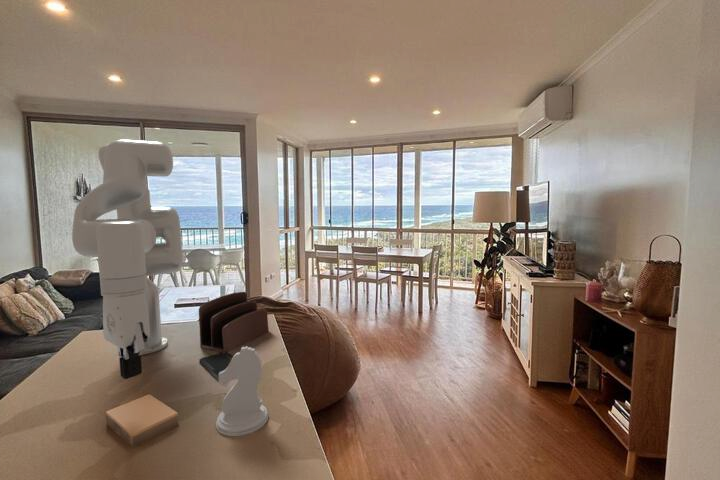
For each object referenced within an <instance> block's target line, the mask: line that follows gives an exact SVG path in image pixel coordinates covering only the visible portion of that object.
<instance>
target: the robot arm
mask: <svg viewBox="0 0 720 480" xmlns="http://www.w3.org/2000/svg"><path fill="white" fill-rule="evenodd" d="M173 158H174V157H173V153H172V151H171V149H170V147H169V146H168V145H167V144H166V143H164V142H160V141H151V140H148V141H147V140H133V139H119V140H118V139H117V140H114V141H111V142H110V143H108V144H105V145H103V146H101V147H100V148H99V150H98V159H99V160H98V161H99V162H100V165H101V168H102V170H103V175H102V177H103V178H102V183H101V184H99V185H97V186H96V187H95V188H93V189H92V190H90V191H89V192H88V193H86V195H84V196H83V197H82V198H81V199H80V201H79V202H78V203H77V205H76V207H75V209H74V214H73V223H72V229H71V230H72V231H71V232H72V233H71V239H72V240H71V241H72V242H71V243H72V246H73V248H74V250H75V252H77V253H78V254H79V255H81V256H83V257H88V258H90V257H91V258H94V257H95V258H96V257H97V260H98V261H97V262H98V263H97V264H98V273H99V275H98V276H99V284H100V286H99V287H100V296H102V330H103V331H102V332H103V339H104V340H106V342H109V343H110V344H112V345H114V346H116V348H117V354H118V357H119V369H120V370H119V371H120V377H121V378H122V379H124V380H128V379H130V378H133V377H134V378H135V377H136V376H139V375H141V374H142V372H143V370H142V367H143V366H142V357H141V356H143V355H148V354H153V353H156V352H159V351H160V350H162V349H164V348H166V347H167V346H168V345H169V340H168V339H167V337H163V336H162V334H163V333H162V332H163V331H162V323H161V321H162V318H161V306H160V294H159V292H160V291H159V289H158V286H157V285H156V283H155V282H153V280H151V279H150V278H149V277H150V276H156V275H166V274H175V273H178V272H180V271H181V270H182V267H183V262H184V259H183V258H184V257H183V243H182V234H181V233H182V232H181V229H182V228H181V221H180V216H179V214H178V212H177V210H176V209H174V208H173V207H168V206H152V205H151V195H150V193H151V192H150V190H149V188H148V186H147V177H164V178H165V177H169V176H170V175H171V174H172V172H173V168H174V159H173ZM113 211H116V215H117V216H116V217H117V218H113V219H111V218H107V219H104V218H103V219H98V218H100V217H101V216H103V215H105V214H107V213H110V212H113ZM157 239H161V240H164V242H158V243H157Z"/></svg>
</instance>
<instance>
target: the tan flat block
mask: <svg viewBox="0 0 720 480" xmlns="http://www.w3.org/2000/svg"><path fill="white" fill-rule="evenodd" d="M105 418H106V425H107V426H108V427H109V428H110V429H111V430H113V431H114V433H116V434H117V435H118V436H119V437H121V439H122V440H124V441H125V442H126V443H128V444H129V445H130V446H131V447H132V448H133V449H135V448H136V447H138V446H140V445H142V444H144V443H146V442H147V441H149V440H152V439H154V438H156V437H158V436H160V435H162V434H163V433H165V432H167V431H169V430H171V429H173V428H176V427H177V426H179V414H178V412H177V411H176V410H174V409H172V407H169V406H168V405H167V404H166V403H163V402H162V401H161V400H159V399H157V398H156V397H154V395H151V394H150V393H149V394H146V395H143V396H141V397H139V398H137V399H134V400H131V401H129V402H126V403H124V404H121V405H119V406H117V407H114V408H112V409H109V410H107V411H105Z"/></svg>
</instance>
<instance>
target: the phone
mask: <svg viewBox="0 0 720 480" xmlns="http://www.w3.org/2000/svg"><path fill="white" fill-rule="evenodd" d="M233 356H234V355H232V354H231V353H229V351H227V352H217V353H216V354H212V355H208V356H204V357H201V358H200V359H199V361H198V362H199V364H200V365H201V366H202V367H203V368H204V369H205V370H206V371H207V372H208V373H209V374H210V375H211V376H212V377H213V378H214V379H215V380H217V381H219V380H218V378H219V372H222V371H224V370H225V369H226V368H227V367H228V365H229V363H230V362H231V360H232V358H233Z"/></svg>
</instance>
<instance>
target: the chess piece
mask: <svg viewBox="0 0 720 480" xmlns="http://www.w3.org/2000/svg"><path fill="white" fill-rule="evenodd" d="M232 356H233V358H232V360H231V362H230V363H229V365H228V367H227V368H226V369H225V370H224V371H222V372H219V378H218V380H217V381H218V384H219V385H222V386H223V387H224V388H225V387H227V386H228V385H229V383H230V382H231V381H235V380H237V381H236V382H235V383H234V385H233V386H232V387H231V388H230V390H229V391H228V392H227V394H226V395H225V396H224V398H223V400H222V403H221V412H220V413H219V415H218V416H217V418H216V422H215V426H216V430H217V431H218V433H220V434H221V435H224V436H227V437H242V436H247V435H249V434H252V433H255V432H256V431H259V430H260V429H261V428H263V426H264V425H265V424H266V423H267V422H268V420H269V412H268V409H267V407H266V406H264V405H263V399H262V398H261V397H260V396H259V391H258V390H259V389H258V388H259V383H260V380H261V377H262V374H263V370H262V369H263V367H262V360H261V357H260V354H259V353H258V351H256V349H255V347H253V348H252V347H251V346H250V347H249V346H248V345H246V346H242V347H241V348H240V351H238V352H236V353H235V354H234V355H232Z"/></svg>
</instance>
